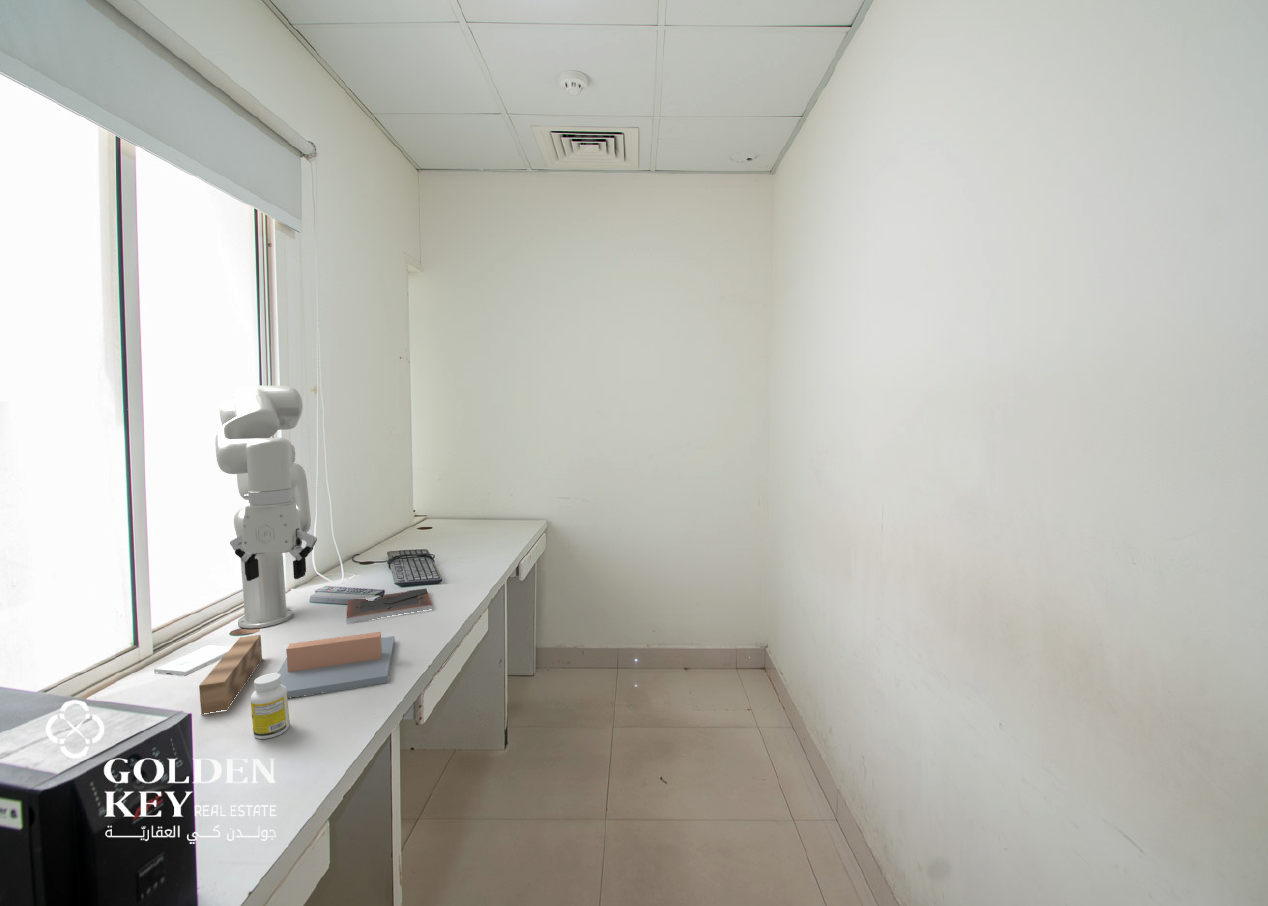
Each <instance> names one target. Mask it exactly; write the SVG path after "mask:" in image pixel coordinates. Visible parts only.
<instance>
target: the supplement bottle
mask: <svg viewBox="0 0 1268 906" xmlns="http://www.w3.org/2000/svg"><path fill="white" fill-rule="evenodd" d="M253 685H254V686H253V687H254V691H253V693H252V694H251V696H250V709H251V710H250V711H251V719H252V732H253V736H254V738H255V739H258V740H267V739H271V738H275V737H278V736H280V735H282V734H283V733H285V732H286V731H287V730H288V729H289V727H290V711H289V699H288V697H287V689H286V687H285V686H284V685H281V675H280V674H279V673H278V672H271V673H270V672H269V673H266V674H263V675H260V676H258V677H257V678H255V679H254V681H253Z"/></svg>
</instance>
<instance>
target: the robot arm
mask: <svg viewBox="0 0 1268 906" xmlns="http://www.w3.org/2000/svg"><path fill="white" fill-rule="evenodd" d="M302 413H303V399H302V396H301V394H300V392H299V391H298V390H297V389H296V388H295V387H292V386H290V385H289V386H288V385H248V386H243V387H241V388H240V389H238V390H237V391H236V392H235V394H234V397H233V399H230V400H227V401H224V402H223V403H221V405H220V408H219V417H220V422H221V425H222V426H221V427H220V428H219V429H218V431H217V433H216V436H215V454H216V461H217V465H218V467H219V469H220V470H221V471H222V472H223V473H225V474H228V475H236V479H237V487H238V492H239V496H240V497H241V498H242V499H243V500H245V501H248V503H249V505H247V506H245V507H242V508H241V509H238V511H236V513H235V514H234V517H233V525H234V530H235V535H236V538H234V539H232V540H230V541H229V544H230V546H231V548H232V549H233V550H234V554H235V555H236V556H237V557H239V558H240V567H241V569H240V570H241V583H242V595H243V596H242V597H243V610H244V612H243V613H244V615H242V617H240V618H239V619H238V621H237V625H238V627H240V628H243V629H259V628H265V627H271V626H275V625H279V624H281V623H284V622H286V621H288V620H290V619H291V618H292V617H294V610H293V609H291V608H289V607H288V608H287V596H286V582H285V567H284V556H283V554H286V553H289V554H290V555H291V556H292V557H293V558H294V560H293V561H292V569H293V579H295V580H299V579H301V578H303V577H305V576H306V572H307V563H306V562H307V561H306V558H307V557H308V555H310V554H311V552H312V551H313V550H314V547H315V546H316V543H317V541H318V538H317V537H316V536H314V535H312V534H310V533H308V532H309V531H310V530H311V523H312V522H311V520H312V519H311V507H310V498H309V488H308V481H307V474H306V472H305V470H304V467H303V466H302V465H301V464H299V463H295V462H296V448H295V446H294V445H293V444H292V442H291V441H290V440H289V439H287V438H284V437H273V436H274V435H276V433H277V432H278V431H282V430H283V431H284V430H285V431H286V430H292V429H294V428H296V427H297V425H298V423H299V422H300V420H301V417H302ZM303 541H305V542H306V544H305V547H304V548H303V546H302V544H303Z"/></svg>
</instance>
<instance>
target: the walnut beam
mask: <svg viewBox="0 0 1268 906" xmlns="http://www.w3.org/2000/svg"><path fill="white" fill-rule="evenodd" d="M230 647H231V649H230V650H229V651H228V652H227V653H226V654H225V656H224V657H223V658H221V659H219V661H218V663H217V664H216V665H215V666H214V667H213V669H212V670H211V671H210V672H209V673H208V675H206V677H205V678H204V679H203V681H201V683H200V684H199V686H198V687H199V688H198V689H199V700H200V701H199V702H200V712H201V716H203V715H202V714H204V713H210V712H216V711H221V710H227V709H228V707H229V706H230V704H231V703H232V701H233V700H234V698H235V697H236V695H237V694H238V692H240V693H241V691H242V690H243V688H244V687H245V685H246V684H247V682H248V681H247V680H249V679H250V678H251V676H252V675H253V673H254V672H255V671H254V669H255V668H256V667H257V668H258V666H259V665H258V664H260V663H261V662H262V660H263V652H262V651H263V650H262V649H263V648H262V639H261V634H257V635H250V636H249V635H248V636H242V637H239V638H238V639H237V640H236V642H235V643H234V644H233V645H232V646H230ZM257 665H258V666H257ZM257 668H256V669H257ZM256 669H255V670H256ZM253 671H254V672H253ZM252 672H253V673H252ZM251 674H252V675H251ZM250 675H251V676H250ZM249 677H250V678H249ZM248 678H249V679H248ZM245 683H246V684H245ZM244 684H245V685H244ZM243 686H244V687H243ZM242 687H243V688H242ZM241 689H242V690H241ZM240 690H241V691H240ZM238 695H239V694H238ZM236 698H237V697H236ZM236 698H235V699H236ZM234 701H235V700H234ZM234 701H233V702H234ZM232 704H233V703H232ZM232 704H231V705H232ZM230 707H231V706H230ZM230 707H229V708H230ZM228 710H229V709H228ZM228 710H227V711H228Z"/></svg>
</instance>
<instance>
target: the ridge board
mask: <svg viewBox="0 0 1268 906" xmlns="http://www.w3.org/2000/svg"><path fill="white" fill-rule="evenodd" d="M395 639H396V638H395V636H385V637H382V631H375V632H369V633H361V634H360V633H359V634H353V635H345V636H337V637H331V638H330V637H329V638H323V639H317V640H316V639H315V640H309V641H307V640H306V641H302V642H301V641H299V642H294V643H292V642H291V643H289V645H287V648H286V658H285V660H284V661H283V663H282V664H281V667H280V668H279V670H278V671H277V673H279V674H280V675H281V685H284V686H285V687H286V689H287V697H288V698H290V697H296V698H298V697H297V696H302V697H305V696H304V695H308V696H313V695H312V694H315V695H319V694H318V693H321V694H323V693H322V692H327V693H333V692H337V691H344V690H345V691H346V690H352V689H357V688H363V687H368V686H375V685H382V684H388V683H389V678H390V671H391V667H390V666H391V665H392V659H393V654H394V649H395V643H396V641H395ZM394 642H395V643H394ZM393 648H394V649H393ZM290 699H291V698H290Z"/></svg>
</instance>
